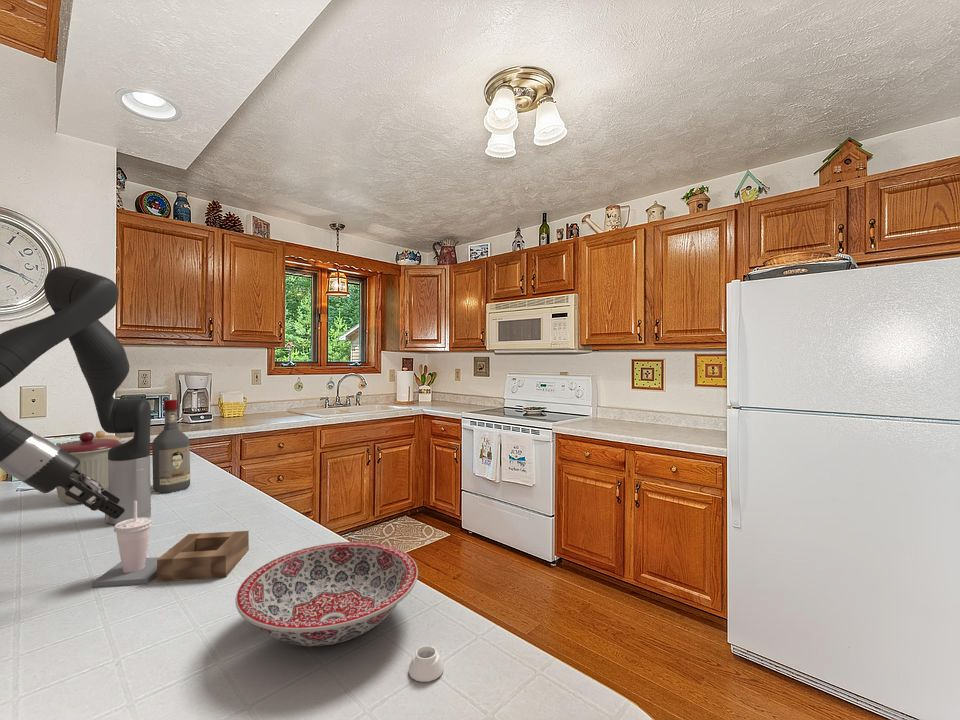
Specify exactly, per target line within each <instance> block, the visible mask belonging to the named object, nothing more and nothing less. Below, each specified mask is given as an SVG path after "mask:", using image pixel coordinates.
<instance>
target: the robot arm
mask: <svg viewBox="0 0 960 720" xmlns="http://www.w3.org/2000/svg"><path fill="white" fill-rule="evenodd" d="M43 290H44V291H43V292H44V297H45V298H46V301H47V303H48V305H49V306H50V308H51V309H52V311H53V314H51V315H48V316H46V317H44V318H41V319H39V320H36V321H31V322H29V323H26V324H22V325H19V326H16V327H14V328H10V329H8V330H6V331H3V332H2V333H0V389H1V388H3V387H4V386H5V385H7V384H8V383H10V382H11V381H12V380H14V379H15V378H16V377H17V376H19V374H20V373H22V372H23V371H24V370H25V369H27V368H28V367H29V366H30V365H32V364H33V362H34V361H36V360H37V359H39V358H40V357H41V356H42V355H44V354H45V353H47V352H48V351H50V350H51V349H53V348H55V346H58V345H59V344H61V343H62V342H64V341H65V340H69V343H70V345H71V347H72V349H73V352H74V354H75V357H76V359H77V363H78V365H79V367H80V370H81V373H82V375H83V377H84V379H85V381H86V383H87V385H88V388H89V391H90V393H91V396H92V399H93V402H94V406H95V411H96V414H97V417H98V421H99V424H100V427H101V429H102V431H104V433H106V434H107V433H108V434H128V433H131V434H132V433H134V434H133V437H132V438H131V439H130V440H128V441H126V442H122V443H123V444H120V445H118V446H115V447H112V448H111V449H109V451H108V482H109V487H107V488H105V490H104V488H103V486H101V485H100V483H98V482H96V481H95V480H93V479H91V478H90V477H88V476H87V475H86V474H84V473H80V472H79V471H78V470H76V469H77V468H78V466H79V465H80V460H79V459H78V458H76V457H75V456H73V455H71V454H70V453H68V452H66V451H65V450H63V449H61V448H60V447H58V446H57V444H55V443H53V442H52V441H50V440H48V439H47V438H45V437H42V436H40V435H38V434H36V433H35V432H34V433H33V432H32V431H31V430H29V429H28V428H26V427H24V426H23V425H21V424H19V423H18V422H16V421H14V420H12V419H10V418H8V416H6V415H5V414H4V412H2V410H0V469H1V470H2V471H4V472H5V473H6V474H8V475H10V476H11V477H13V478H15V479H17V480H18V481H20V482H22V483H24V484H26V485H27V486H29V487H31V488H33V489H35V490H36V491H38V492H40V493H42V494H48V493H51V492H52V491H54V490H55V489H56V487H58V486H61V487H62V488H64V489H65V490H64V491H66V492H65V494H66V496H69V497H71V498H73V499H74V500H76V501H78V502H80V503H79V504H82V505H83V506H84V507H86V508H88V509H90V510H91V511H94V512H96V511H100V512H101V513H103V514H104V523H105V524H110V525H114V526H115V525H116V524H117V523H119V522H122V521H125V520H128V519H133V518H134V501H137V518H142V517H146V518H150V517H151V515H152V504H151V503H152V500H151V499H152V495H151V494H152V492H151V489H152V487H151V486H152V485H151V426H152V425H151V423H152V422H151V421H152V407H151V404H150V402H149V401H148V399H145V398H127V399H126V398H124V399H123V398H122V399H116V398H115V397H114V394H115V393H116V391H117V390H118V389H119V388H120V386H121V385H122V384H123V382H124V381H125V380H126V378H127V376H128V375H129V372H130V363H129V360H128V357H127V356H128V355H127V353H126V350H125V347H124V346H123V344H122V343H121V342H120V340H119V339H118V338H117V337H116V336H115V335H114V334H113V332H111V330H109V328H107V327H106V326H105V324H103V323H102V321H100V319H101V318H103V317H105V316H106V315H107V314H109V313H110V312H111V311H112V310H113V309H114V307H115V306H116V304H117V302H118V300H119V295H120V292H119V288H118V285H117V284H116V283H115V282H114V281H113V280H112V279H110V278H108V277H106V276H103V275H100V274H96V273H94V272H90V271H87V270H84V269H80V268H76V267H72V266H66V265H64V266H57V267H54V268H52V269H50V270H49V272H48V273H47V274H46V276H45V279H44V283H43ZM103 490H104V491H103ZM95 497H96V498H95ZM94 498H95V500H96V501H93V502H92V500H93V499H94Z"/></svg>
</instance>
